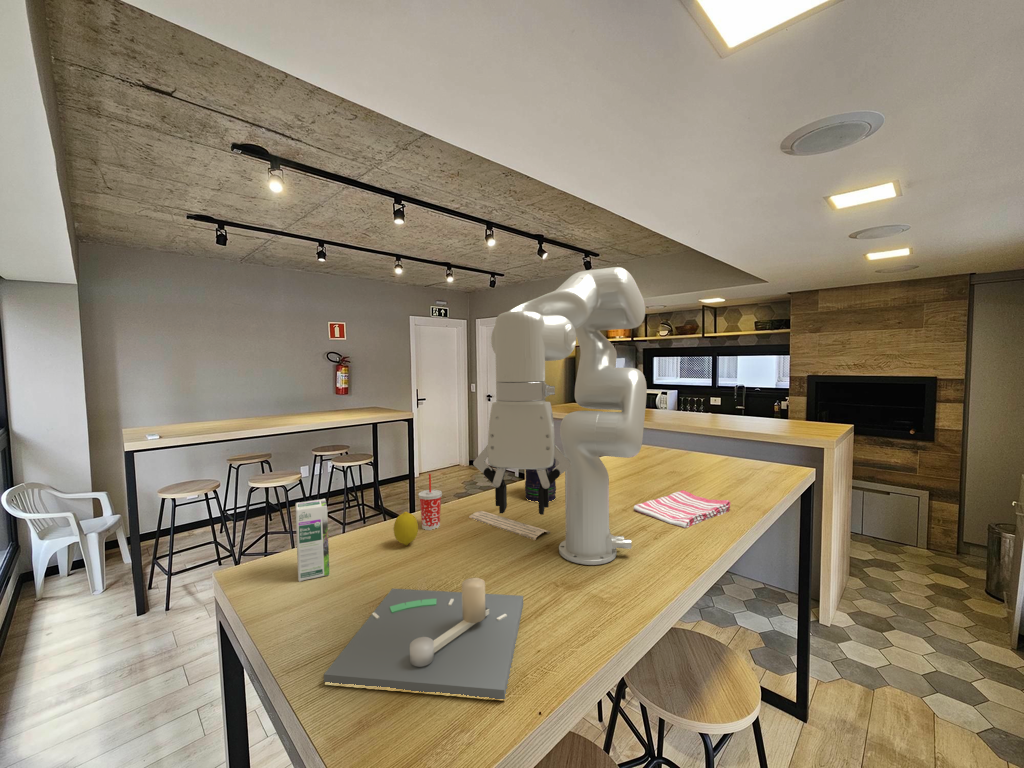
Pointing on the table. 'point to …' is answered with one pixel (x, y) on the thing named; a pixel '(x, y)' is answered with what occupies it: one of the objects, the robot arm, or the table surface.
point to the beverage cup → (430, 507)
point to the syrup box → (312, 539)
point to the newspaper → (508, 524)
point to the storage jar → (537, 484)
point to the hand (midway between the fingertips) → (522, 510)
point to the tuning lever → (471, 614)
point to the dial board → (422, 613)
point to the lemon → (405, 528)
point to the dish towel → (683, 508)
